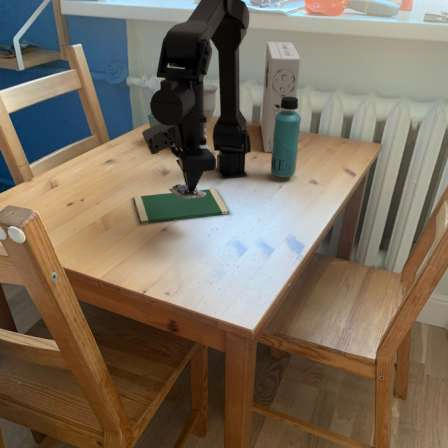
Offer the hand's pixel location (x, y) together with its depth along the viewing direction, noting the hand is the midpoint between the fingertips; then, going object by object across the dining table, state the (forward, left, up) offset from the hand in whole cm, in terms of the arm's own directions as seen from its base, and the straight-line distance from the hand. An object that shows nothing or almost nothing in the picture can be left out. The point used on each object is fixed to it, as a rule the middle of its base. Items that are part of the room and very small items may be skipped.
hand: (189, 188), depth 97 cm
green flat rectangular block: (0, -11, -10) cm, 15 cm away
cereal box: (-37, -48, -10) cm, 62 cm away
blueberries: (0, 0, -1) cm, 1 cm away
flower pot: (-5, -51, -10) cm, 52 cm away
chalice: (-13, -41, -10) cm, 44 cm away
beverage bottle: (-29, -21, -10) cm, 37 cm away
